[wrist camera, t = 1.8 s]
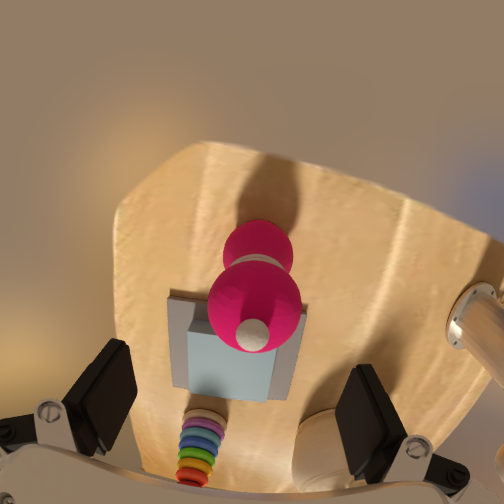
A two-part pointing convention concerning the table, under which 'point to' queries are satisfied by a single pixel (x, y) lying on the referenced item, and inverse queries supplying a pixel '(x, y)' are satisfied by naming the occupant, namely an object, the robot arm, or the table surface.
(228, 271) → the pepper mill
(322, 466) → the jug
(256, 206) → the table surface
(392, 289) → the table surface
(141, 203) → the table surface
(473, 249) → the table surface
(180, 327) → the pedestal board
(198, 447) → the stacking toy
